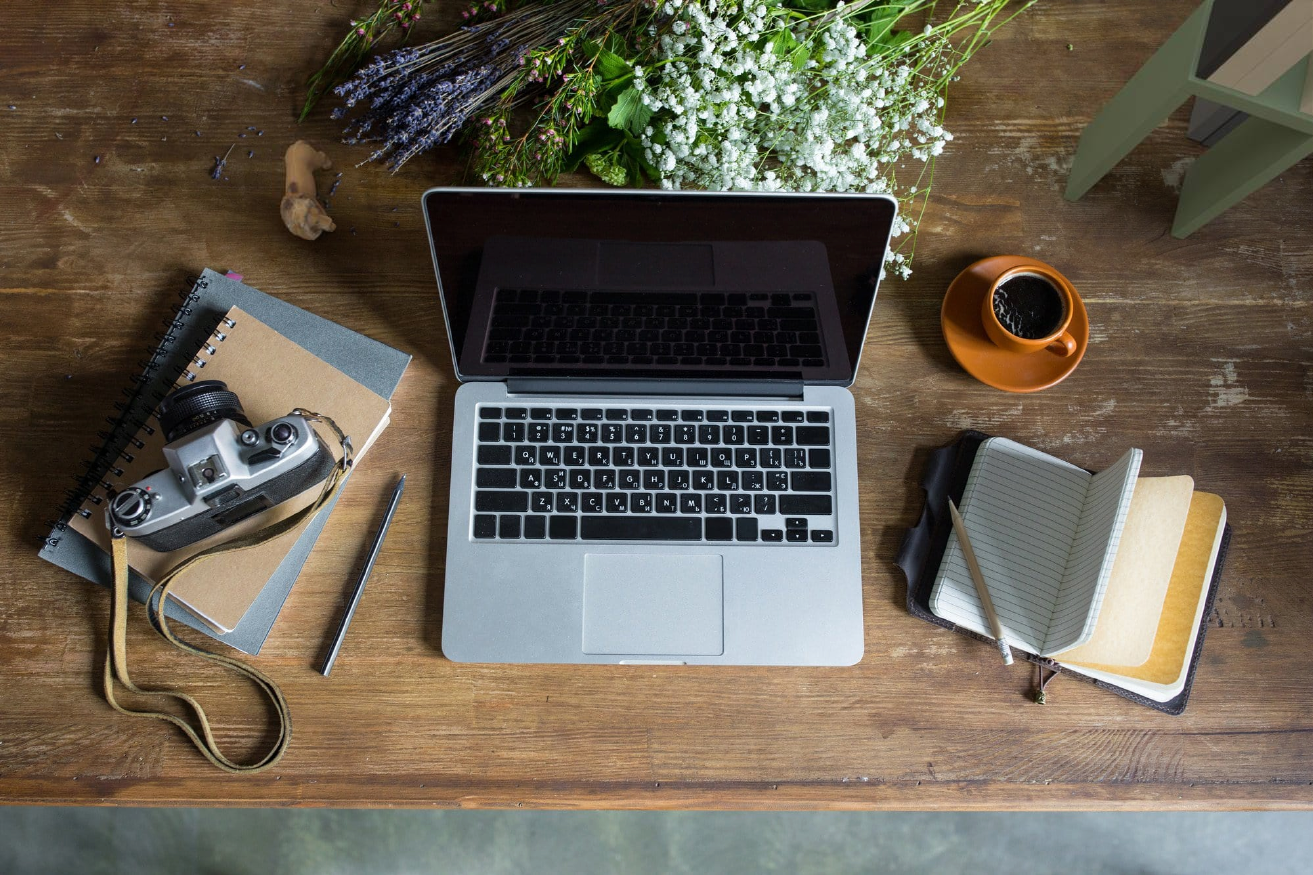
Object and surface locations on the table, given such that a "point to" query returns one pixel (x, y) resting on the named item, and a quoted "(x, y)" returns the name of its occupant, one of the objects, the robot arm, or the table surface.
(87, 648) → the table surface
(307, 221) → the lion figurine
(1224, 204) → the shelf
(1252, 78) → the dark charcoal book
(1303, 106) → the cream book
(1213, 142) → the grey books
